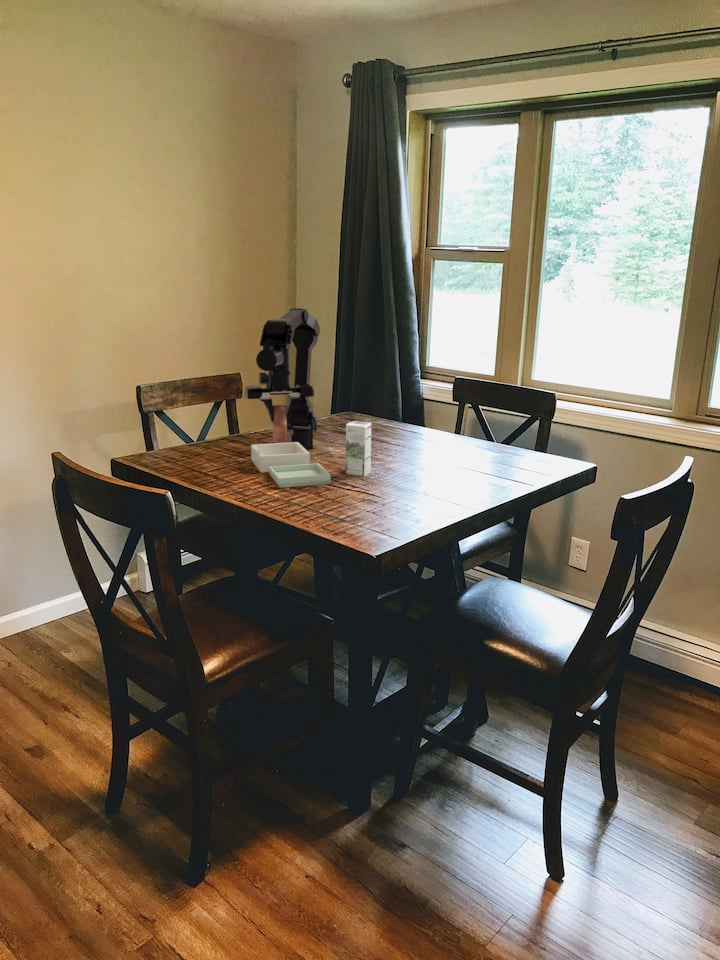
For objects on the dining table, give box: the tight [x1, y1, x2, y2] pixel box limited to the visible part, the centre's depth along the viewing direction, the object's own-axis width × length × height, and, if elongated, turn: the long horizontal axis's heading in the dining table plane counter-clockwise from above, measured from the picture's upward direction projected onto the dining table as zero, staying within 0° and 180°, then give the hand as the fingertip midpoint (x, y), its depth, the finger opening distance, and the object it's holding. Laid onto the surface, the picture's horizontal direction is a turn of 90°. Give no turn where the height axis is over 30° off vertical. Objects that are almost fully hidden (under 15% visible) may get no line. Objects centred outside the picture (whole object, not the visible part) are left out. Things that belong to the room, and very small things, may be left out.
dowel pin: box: [272, 404, 288, 443], centre depth 215 cm, size 4×4×10 cm
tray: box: [268, 462, 332, 489], centre depth 205 cm, size 14×12×2 cm
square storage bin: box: [250, 441, 311, 473], centre depth 218 cm, size 14×14×5 cm
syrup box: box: [345, 420, 372, 477], centre depth 210 cm, size 6×6×14 cm
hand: (279, 421), depth 215 cm, fingers closed on dowel pin, 4 cm apart
